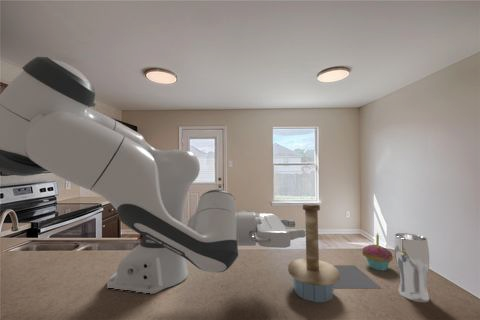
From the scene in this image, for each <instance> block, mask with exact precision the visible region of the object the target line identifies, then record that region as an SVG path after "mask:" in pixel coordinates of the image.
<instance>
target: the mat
mask: <svg viewBox="0 0 480 320" xmlns="http://www.w3.org/2000/svg"><path fill="white" fill-rule="evenodd" d="M332 265H333V264H332ZM333 266H334V267H336V268H337V269H338V271H339V276H340V278H339V280H338V282H336V283H334V290H337V289H340V290H341V289H342V290H343V289H348V290H349V289H352V290H353V289H354V290H355V289H357V290H359V289H363V290H364V289H365V290H367V289H371V290H373V289H375V290H377V289H379V290H380V289H383V287H382V286H380V285H378V284H377V282H375V281H374V280H373V279H372V278H371V277H370V276H368V275H367V274H366V273H365V272H364V271H362V270H361V269H360V268H358V266H356V265H348V264H347V265H344V264H343V265H341V264H339V265H338V264H335V265H333Z"/></svg>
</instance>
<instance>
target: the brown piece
mask: <svg viewBox="0 0 480 320" xmlns="http://www.w3.org/2000/svg"><path fill="white" fill-rule="evenodd" d="M302 210H304V215H305V217H304V219H305V222H304V223H305V225H304V226H305V255H306V257H305V258H297V259H294V260H292V261H290V262H288V265H287V271H288V274H289V275H290V276H291V277H292V278H295V279H296V280H298V281H301V282H303V283H307V284H311V285H321V286H323V285H331V284H334V283H336V282H338V280H339V278H340V276H339V271H338V269H337V268H336V267H334V266H333V264H331V263H329V262H326V261H324V260H320V258H319V257H320V256H319V255H320V250H319V222H318V221H319V217H318V212H319V211H320V210H321V206H320V204H319V203H303V204H302Z"/></svg>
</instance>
